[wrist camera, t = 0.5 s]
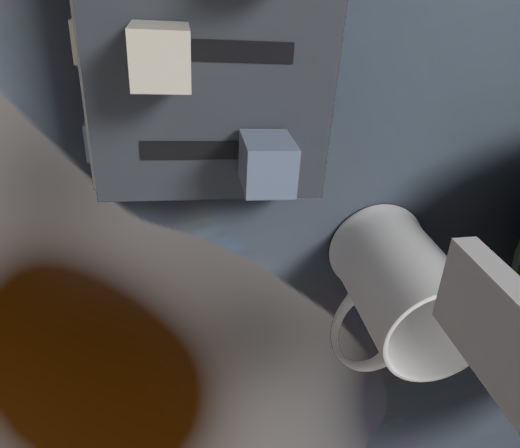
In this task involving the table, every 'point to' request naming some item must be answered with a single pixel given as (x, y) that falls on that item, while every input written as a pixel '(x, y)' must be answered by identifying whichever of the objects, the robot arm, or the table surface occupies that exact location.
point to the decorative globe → (516, 260)
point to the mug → (393, 293)
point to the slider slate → (268, 164)
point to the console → (206, 94)
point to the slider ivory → (159, 57)
